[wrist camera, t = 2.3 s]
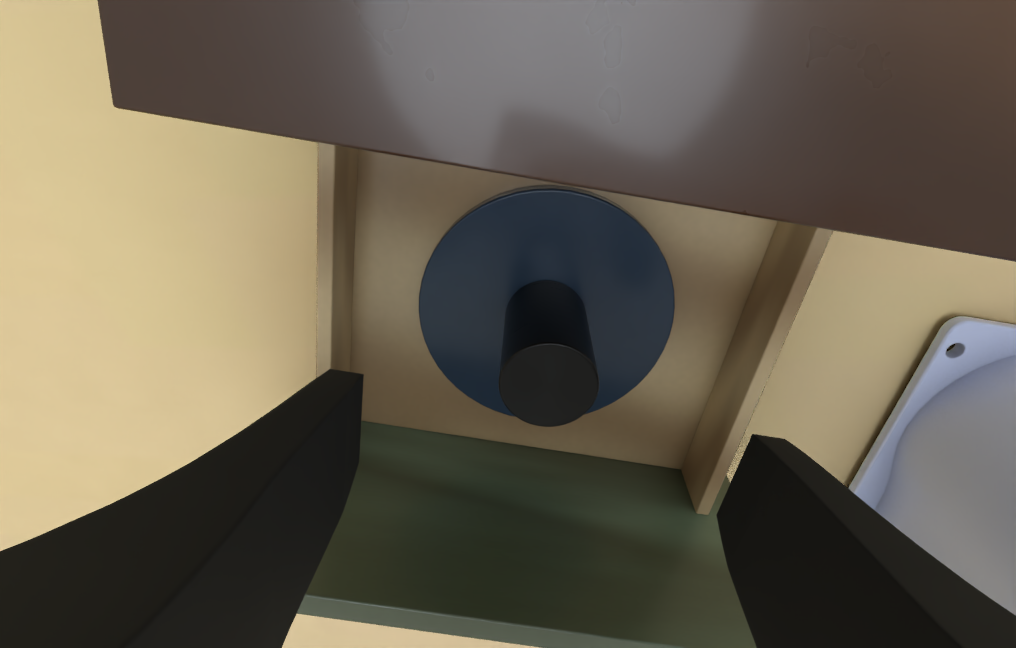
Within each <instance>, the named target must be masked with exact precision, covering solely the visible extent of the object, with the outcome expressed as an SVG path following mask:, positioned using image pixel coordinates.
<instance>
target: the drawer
mask: <svg viewBox="0 0 1016 648" xmlns="http://www.w3.org/2000/svg"><path fill="white" fill-rule="evenodd" d="M534 185H559V186H569V187H574V188H578V189H583V190H587V191H590V192H593V193H595V194H598V195H600V196H603V197H605V198H607V199H609V200H611V201H613V202H614V203H616V204H618V205H620V206H621V207H623V208H624V209H625V210H627V211H628V212H629V213H631V214H632V215H633V216H634V217H635V218H636V219H637V220H638V221H639V222H640V223H641V224H642V225H643V226H644V227H645V228H646V229H647V230H648V232H649V233H650V234H651V236H652V237H653V238H654V240H655V241H656V243H657V244H658V246H659V248H660V250H661V252H662V254H663V255H664V257H665V259H666V261H667V264H668V267H669V270H670V273H671V276H672V281H673V286H674V295H675V310H674V320H673V325H672V329H671V332H670V336H669V339H668V341H667V344H666V346H665V348H664V351H663V352H662V354H661V356H660V358H659V359H658V361H657V363H656V364H655V366H654V367H653V368H652V370H651V371H650V372H649V373H648V375H647V376H646V377H645V378H644V379H643V380H642V381H641V382H640V383H639V384H638V385H637V386H636V387H635V388H633V389H632V390H631V391H630V392H628V393H627V394H626V395H625V396H623V397H621V398H620V399H618V400H617V401H615V402H613V403H612V404H610V405H607V406H605V407H603V408H601V409H599V410H596V411H594V412H591V413H588V414H585V415H583V416H582V417H580V418H578V419H577V420H575V421H573V422H571V423H568V424H565V425H561V426H555V427H542V426H536V425H532V424H529V423H526V422H524V421H522V420H520V419H519V418H517V417H514V416H509V415H506V414H503V413H500V412H497V411H494V410H492V409H490V408H487V407H485V406H483V405H481V404H479V403H478V402H476V401H474V400H473V399H471V398H469V397H468V396H467V395H465V394H464V393H463V392H461V391H460V390H459V389H458V388H456V387H455V386H454V385H453V384H452V383H451V382H450V381H449V380H448V379H447V378H446V376H445V375H444V374H443V373H442V371H441V370H440V369H439V367H438V366H437V364H436V363H435V361H434V359H433V358H432V356H431V354H430V352H429V350H428V348H427V345H426V343H425V340H424V337H423V334H422V330H421V326H420V319H419V292H420V286H421V280H422V277H423V274H424V271H425V268H426V265H427V263H428V261H429V259H430V257H431V255H432V253H433V251H434V249H435V247H436V245H437V244H438V242H439V241H440V239H441V238H442V236H443V235H444V233H445V232H446V231H447V230H448V229H449V228H450V227H451V226H452V224H453V223H454V222H455V221H456V220H457V219H459V218H460V217H461V216H462V215H463V214H465V213H466V212H467V211H468V210H470V209H471V208H473V207H474V206H476V205H478V204H479V203H481V202H482V201H484V200H486V199H489V198H491V197H493V196H495V195H498V194H500V193H503V192H506V191H510V190H513V189H516V188H522V187H528V186H534ZM832 232H833V230H828V229H822V228H816V227H810V226H804V225H799V224H793V223H787V222H781V221H775V220H769V219H763V218H758V217H752V216H746V215H740V214H734V213H728V212H722V211H717V210H711V209H705V208H699V207H693V206H687V205H681V204H676V203H670V202H664V201H658V200H652V199H646V198H640V197H635V196H629V195H623V194H617V193H611V192H605V191H599V190H594V189H588V188H582V187H576V186H570V185H564V184H558V183H553V182H547V181H541V180H535V179H529V178H523V177H517V176H512V175H506V174H500V173H494V172H488V171H482V170H476V169H471V168H465V167H459V166H453V165H447V164H441V163H435V162H430V161H424V160H418V159H412V158H406V157H400V156H394V155H389V154H383V153H377V152H371V151H365V150H359V149H353V148H348V147H342V146H336V145H330V144H324V143H318V186H317V356H316V378H317V377H319V376H320V375H322V374H323V373H325V372H326V371H328V370H329V369H334V370H341V371H347V372H354V373H360V374H364V378H363V398H362V417H361V437H360V456H359V464H358V467H357V471H356V474H355V477H354V480H353V483H352V487H351V490H350V493H349V496H348V499H347V502H346V505H345V508H344V511H343V513H342V516H341V518H340V520H339V522H338V525H337V527H336V529H335V531H334V533H333V536H332V538H331V540H330V542H329V544H328V546H327V549H326V551H325V553H324V555H323V557H322V560H321V562H320V564H319V566H318V568H317V570H316V572H315V575H314V577H313V579H312V581H311V583H310V585H309V588H308V590H307V592H306V594H305V596H304V598H303V601H302V603H301V605H300V607H299V609H298V611H297V614H304V615H311V616H318V617H325V618H333V619H340V620H347V621H354V622H361V623H369V624H376V625H383V626H390V627H397V628H405V629H412V630H419V631H426V632H433V633H441V634H448V635H455V636H462V637H469V638H477V639H484V640H491V641H498V642H505V643H513V644H520V645H527V646H534V647H541V648H757V647H756V644H755V642H754V639H753V636H752V634H751V631H750V628H749V625H748V623H747V620H746V617H745V615H744V612H743V609H742V606H741V604H740V601H739V598H738V595H737V593H736V590H735V587H734V584H733V581H732V578H731V576H730V573H729V570H728V567H727V562H726V558H725V554H724V550H723V546H722V541H721V536H720V531H719V526H718V521H717V516H716V514H717V512H718V510H719V508H720V506H721V503H722V501H723V499H724V497H725V494H726V492H727V490H728V488H729V486H730V482H729V480H728V477H727V475H726V474H727V472H728V469H729V467H730V465H731V462H732V460H733V458H734V456H735V453H736V451H737V449H738V446H739V444H740V442H741V440H742V437H743V435H744V433H745V431H746V428H747V426H748V424H749V421H750V419H751V417H752V415H753V412H754V410H755V408H756V405H757V403H758V401H759V399H760V396H761V394H762V392H763V390H764V387H765V385H766V383H767V380H768V378H769V376H770V374H771V371H772V369H773V367H774V364H775V362H776V360H777V358H778V355H779V353H780V351H781V349H782V346H783V344H784V342H785V339H786V337H787V335H788V333H789V330H790V328H791V326H792V323H793V321H794V319H795V317H796V314H797V312H798V310H799V308H800V305H801V303H802V301H803V298H804V296H805V294H806V292H807V289H808V287H809V285H810V282H811V280H812V278H813V276H814V273H815V271H816V269H817V267H818V264H819V262H820V260H821V257H822V255H823V253H824V251H825V248H826V246H827V244H828V241H829V239H830V237H831V235H832Z"/></svg>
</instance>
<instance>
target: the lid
mask: <svg viewBox="0 0 1016 648" xmlns="http://www.w3.org/2000/svg"><path fill="white" fill-rule="evenodd" d="M674 310H675V295H674V286H673V281H672V276H671V273H670V270H669V267H668V264H667V261H666V259H665V257H664V255H663V254H662V252H661V250H660V248H659V246H658V244H657V243H656V241H655V240H654V238H653V237H652V236H651V234H650V233H649V232H648V230H647V229H646V228H645V227H644V226H643V225H642V224H641V223H640V222H639V221H638V220H637V219H636V218H635V217H634V216H633V215H632V214H631V213H629V212H628V211H627V210H625V209H624V208H623V207H621V206H620V205H618V204H616V203H614V202H613V201H611V200H609V199H607V198H605V197H603V196H600V195H598V194H595V193H593V192H590V191H587V190H583V189H578V188H574V187H569V186H559V185H534V186H528V187H522V188H516V189H513V190H510V191H506V192H503V193H500V194H498V195H495V196H493V197H491V198H489V199H486V200H484V201H482V202H481V203H479V204H478V205H476V206H474V207H473V208H471V209H470V210H468V211H467V212H466V213H465V214H463V215H462V216H461V217H460V218H459V219H457V220H456V221H455V222H454V223H453V224H452V226H451V227H450V228H449V229H448V230H447V231H446V232H445V233H444V235H443V236H442V238H441V239H440V241H439V242H438V244H437V245H436V247H435V249H434V251H433V253H432V255H431V257H430V259H429V261H428V263H427V265H426V268H425V271H424V274H423V277H422V280H421V286H420V292H419V319H420V326H421V330H422V334H423V337H424V340H425V343H426V345H427V348H428V350H429V352H430V354H431V356H432V358H433V359H434V361H435V363H436V364H437V366H438V367H439V369H440V370H441V371H442V373H443V374H444V375H445V376H446V378H447V379H448V380H449V381H450V382H451V383H452V384H453V385H454V386H455V387H456V388H458V389H459V390H460V391H461V392H463V393H464V394H465V395H467V396H468V397H469V398H471V399H473V400H474V401H476V402H478V403H479V404H481V405H483V406H485V407H487V408H490V409H492V410H494V411H497V412H500V413H503V414H506V415H509V416H514V417H517V418H519V419H520V420H522V421H524V422H526V423H529V424H532V425H536V426H542V427H555V426H561V425H565V424H568V423H571V422H573V421H575V420H577V419H578V418H580V417H582V416H583V415H585V414H588V413H591V412H594V411H596V410H599V409H601V408H603V407H605V406H607V405H610V404H612V403H613V402H615V401H617V400H618V399H620V398H621V397H623V396H625V395H626V394H627V393H628V392H630V391H631V390H632V389H633V388H635V387H636V386H637V385H638V384H639V383H640V382H641V381H642V380H643V379H644V378H645V377H646V376H647V375H648V373H649V372H650V371H651V370H652V368H653V367H654V366H655V364H656V363H657V361H658V359H659V358H660V356H661V354H662V352H663V351H664V348H665V346H666V344H667V341H668V339H669V336H670V332H671V329H672V325H673V320H674Z"/></svg>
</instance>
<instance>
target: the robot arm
mask: <svg viewBox="0 0 1016 648" xmlns="http://www.w3.org/2000/svg"><path fill="white" fill-rule="evenodd" d="M955 343H956V344H955ZM952 344H955V346H954V347H953V348H952V349H951V350H949V351H946V350H947V348H948V347H949V346H950V345H952ZM363 378H364V374H360V373H354V372H347V371H341V370H334V369H329V370H328V371H326V372H325V373H323V374H322V375H320V376H319V377H317V378H316V379H315V380H313V381H312V382H310V383H309V384H308V385H306V386H305V387H303V388H302V389H301V390H299V391H298V392H297V393H295V394H294V395H292V396H291V397H290V398H288V399H287V400H286V401H284V402H283V403H281V404H280V405H279V406H277V407H276V408H274V409H273V410H271V411H270V412H269V413H267V414H266V415H264V416H263V417H261V418H260V419H258V420H257V421H255V422H254V423H252V424H251V425H250V426H248V427H247V428H245V429H244V430H242V431H241V432H239V433H238V434H236V435H234V436H233V437H231V438H230V439H228V440H226V441H225V442H223V443H222V444H220V445H218V446H217V447H215V448H214V449H212V450H210V451H209V452H207V453H205V454H204V455H202V456H201V457H199V458H197V459H196V460H194V461H192V462H191V463H189V464H187V465H185V466H184V467H182V468H180V469H178V470H176V471H175V472H173V473H171V474H169V475H167V476H165V477H164V478H162V479H160V480H158V481H156V482H154V483H152V484H150V485H148V486H146V487H144V488H142V489H140V490H138V491H136V492H134V493H132V494H130V495H128V496H126V497H124V498H122V499H120V500H118V501H116V502H114V503H112V504H110V505H108V506H105V507H103V508H101V509H99V510H96V511H94V512H92V513H89V514H87V515H85V516H83V517H80V518H78V519H76V520H74V521H71V522H69V523H67V524H65V525H62V526H60V527H58V528H56V529H53V530H51V531H49V532H47V533H44V534H42V535H40V536H38V537H35V538H33V539H30V540H28V541H25V542H23V543H20V544H18V545H15V546H13V547H10V548H8V549H5V550H3V551H0V648H282V645H283V643H284V641H285V638H286V636H287V633H288V631H289V629H290V626H291V624H292V622H293V620H294V618H295V616H296V614H297V611H298V609H299V607H300V605H301V603H302V601H303V598H304V596H305V594H306V592H307V590H308V588H309V585H310V583H311V581H312V579H313V577H314V575H315V572H316V570H317V568H318V566H319V564H320V562H321V560H322V557H323V555H324V553H325V551H326V549H327V546H328V544H329V542H330V540H331V538H332V536H333V533H334V531H335V529H336V527H337V525H338V522H339V520H340V518H341V516H342V513H343V511H344V508H345V505H346V502H347V499H348V496H349V493H350V490H351V487H352V483H353V480H354V477H355V474H356V471H357V467H358V464H359V456H360V437H361V417H362V398H363ZM716 516H717V521H718V526H719V531H720V536H721V541H722V546H723V550H724V554H725V558H726V562H727V567H728V570H729V573H730V576H731V578H732V581H733V584H734V587H735V590H736V593H737V595H738V598H739V601H740V604H741V606H742V609H743V612H744V615H745V617H746V620H747V623H748V625H749V628H750V631H751V634H752V636H753V639H754V642H755V644H756V647H757V648H1016V325H1015V324H1009V323H1003V322H997V321H991V320H985V319H979V318H973V317H967V316H957V317H954V318H951V319H950V320H948V321H947V322H945V323H944V324H943V326H942V327H941V328H940V330H939V331H938V333H937V335H936V337H935V338H934V340H933V342H932V343H931V345H930V347H929V349H928V350H927V352H926V354H925V356H924V357H923V359H922V361H921V363H920V364H919V366H918V368H917V370H916V371H915V373H914V375H913V376H912V378H911V380H910V382H909V383H908V385H907V387H906V389H905V390H904V392H903V394H902V396H901V397H900V399H899V401H898V402H897V404H896V406H895V408H894V409H893V411H892V413H891V415H890V416H889V418H888V420H887V422H886V423H885V425H884V427H883V429H882V430H881V432H880V434H879V435H878V437H877V439H876V441H875V442H874V444H873V446H872V448H871V449H870V451H869V453H868V455H867V456H866V458H865V460H864V462H863V463H862V465H861V467H860V468H859V470H858V472H857V474H856V475H855V477H854V479H853V481H852V482H851V484H850V486H849V488H847V487H846V486H845V485H843V484H842V483H841V482H840V481H838V480H837V479H836V478H835V477H834V476H832V475H831V474H830V473H829V472H827V471H826V470H825V469H824V468H823V467H821V466H820V465H819V464H818V463H816V462H815V461H814V460H813V459H811V458H810V457H809V456H807V455H806V454H805V453H804V452H802V451H801V450H800V449H798V448H797V447H796V446H794V445H793V444H791V443H790V442H788V441H787V440H785V439H781V438H775V437H768V436H762V435H755V434H752V436H751V439H750V441H749V443H748V445H747V448H746V450H745V452H744V454H743V457H742V459H741V461H740V463H739V465H738V468H737V470H736V472H735V474H734V477H733V479H732V481H731V483H730V486H729V488H728V490H727V492H726V494H725V497H724V499H723V501H722V503H721V506H720V508H719V510H718V512H717V514H716Z"/></svg>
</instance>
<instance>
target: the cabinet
mask: <svg viewBox="0 0 1016 648" xmlns="http://www.w3.org/2000/svg"><path fill="white" fill-rule="evenodd" d="M98 6H99V13H100V19H101V26H102V33H103V40H104V46H105V53H106V60H107V66H108V73H109V80H110V86H111V93H112V100H113V105H114V107H116V108H119V109H125V110H131V111H137V112H142V113H148V114H154V115H160V116H166V117H172V118H178V119H183V120H189V121H195V122H201V123H207V124H213V125H219V126H225V127H230V128H236V129H242V130H248V131H254V132H260V133H266V134H271V135H277V136H283V137H289V138H295V139H301V140H307V141H312V142H318V143H324V144H330V145H336V146H342V147H348V148H353V149H359V150H365V151H371V152H377V153H383V154H389V155H394V156H400V157H406V158H412V159H418V160H424V161H430V162H435V163H441V164H447V165H453V166H459V167H465V168H471V169H476V170H482V171H488V172H494V173H500V174H506V175H512V176H517V177H523V178H529V179H535V180H541V181H547V182H553V183H558V184H564V185H570V186H576V187H582V188H588V189H594V190H599V191H605V192H611V193H617V194H623V195H629V196H635V197H640V198H646V199H652V200H658V201H664V202H670V203H676V204H681V205H687V206H693V207H699V208H705V209H711V210H717V211H722V212H728V213H734V214H740V215H746V216H752V217H758V218H763V219H769V220H775V221H781V222H787V223H793V224H799V225H804V226H810V227H816V228H822V229H828V230H834V231H840V232H846V233H851V234H857V235H863V236H869V237H875V238H881V239H887V240H892V241H898V242H904V243H910V244H916V245H922V246H928V247H933V248H939V249H945V250H951V251H957V252H963V253H969V254H974V255H980V256H986V257H992V258H998V259H1004V260H1010V261H1015V262H1016V0H98Z"/></svg>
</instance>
